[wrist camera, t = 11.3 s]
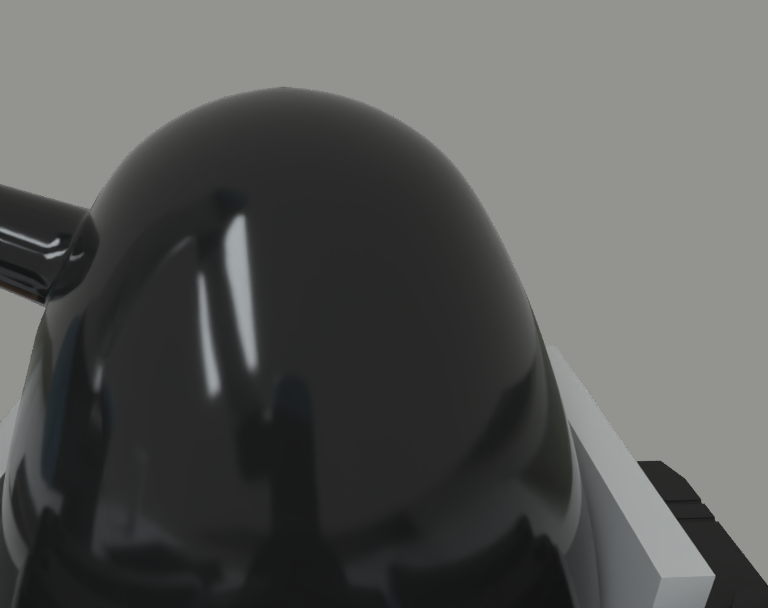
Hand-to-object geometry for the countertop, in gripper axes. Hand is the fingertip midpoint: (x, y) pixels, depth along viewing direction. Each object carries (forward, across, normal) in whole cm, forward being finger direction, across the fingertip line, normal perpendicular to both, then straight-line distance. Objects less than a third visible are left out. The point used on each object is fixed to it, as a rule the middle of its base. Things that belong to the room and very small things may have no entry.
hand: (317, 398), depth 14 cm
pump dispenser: (-4, 0, -8) cm, 9 cm away
